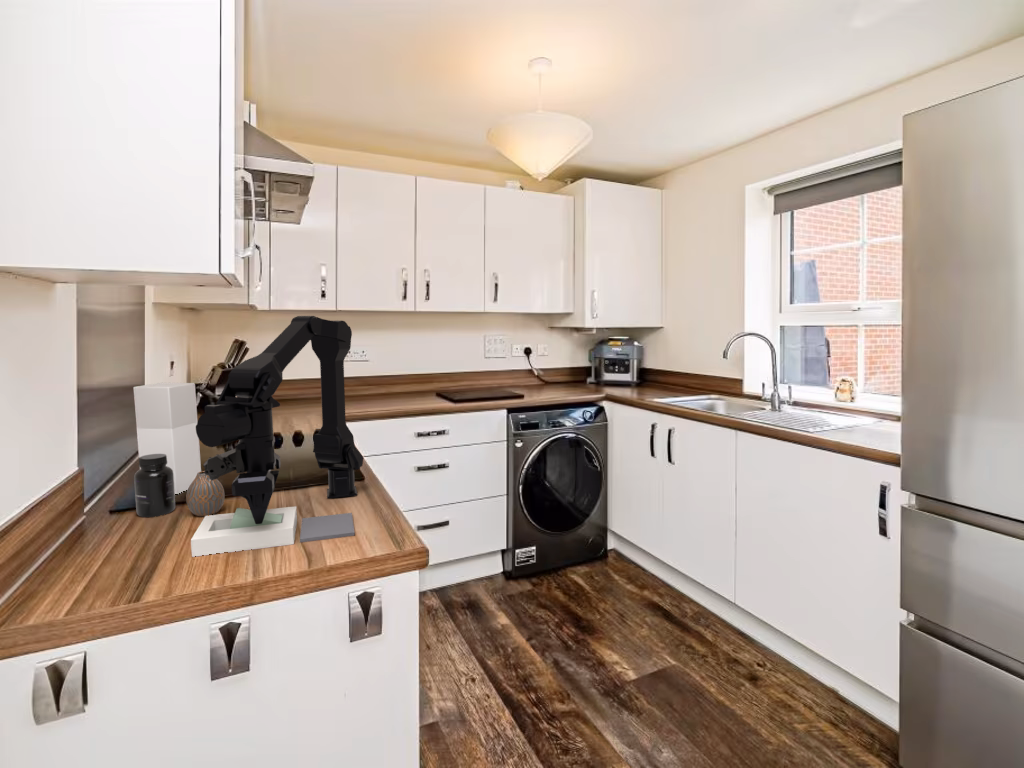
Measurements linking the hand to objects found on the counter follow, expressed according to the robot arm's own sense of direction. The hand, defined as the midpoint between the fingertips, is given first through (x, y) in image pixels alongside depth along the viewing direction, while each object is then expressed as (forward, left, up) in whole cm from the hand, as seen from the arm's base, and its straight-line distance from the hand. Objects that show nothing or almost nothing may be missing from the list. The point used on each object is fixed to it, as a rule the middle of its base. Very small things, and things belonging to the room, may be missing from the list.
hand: (260, 517), depth 100 cm
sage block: (0, -1, -2) cm, 3 cm away
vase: (-17, -12, -4) cm, 21 cm away
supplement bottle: (-21, -22, -4) cm, 31 cm away
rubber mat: (0, +12, -4) cm, 12 cm away
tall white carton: (-38, -23, -4) cm, 45 cm away
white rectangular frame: (0, -2, -4) cm, 4 cm away
